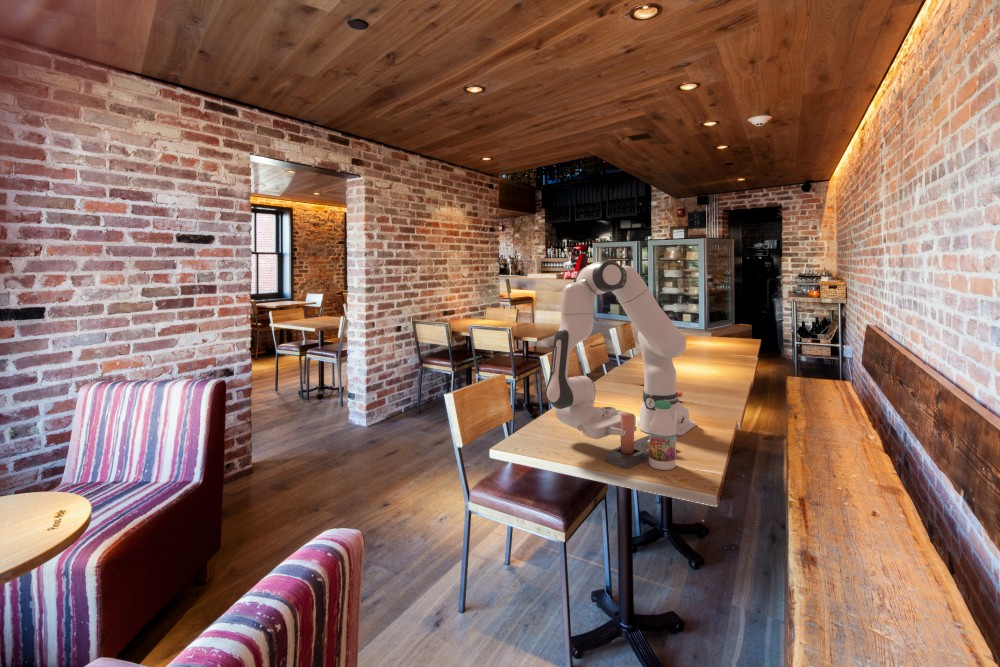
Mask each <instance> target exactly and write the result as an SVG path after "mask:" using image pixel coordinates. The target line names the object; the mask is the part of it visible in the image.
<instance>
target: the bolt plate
mask: <svg viewBox="0 0 1000 667" xmlns="http://www.w3.org/2000/svg"><path fill="white" fill-rule="evenodd" d="M650 424H651V422H650ZM647 459H648V460H649V435H645V436H644V437H642V438H638V439H634V453H633V454H624V453H621V445H620V446H618V447H616V448H613V449H611V450H608V451H606V452H604V462H605V463H608V464H610V465H613V466H616V467H619V468H622V469H624V470H628V469H630V468H633V467H635V466H637V465H639V464H641V462H642V463H643V461H644V462H646V461H648V460H647ZM645 460H646V461H645Z"/></svg>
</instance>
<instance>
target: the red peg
mask: <svg viewBox="0 0 1000 667" xmlns="http://www.w3.org/2000/svg"><path fill="white" fill-rule="evenodd" d="M634 415H635V414H634V413H631V412H628V413H622V414H621V428H622V429H625V430H626V434H625V435H623V436H620V446H621V453H624V454H633V453H634V441H635V431H634Z"/></svg>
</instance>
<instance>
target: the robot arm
mask: <svg viewBox="0 0 1000 667" xmlns="http://www.w3.org/2000/svg"><path fill="white" fill-rule="evenodd" d="M610 292H611V293H612V294H613V295H614V296H615V297H616V299H617V301H618V303H619V305H620V306H621V308H622V309H623V311H624V312H625V314H626V316H627V317H628V319H629V321H630V322H631V323H632V325H634V326H635V328H636V329H637V330H638V332H637V340H638V343H639V345H640V353H641V358H642V364H643V371H644V372H643V373H644V375H643V376H644V379H643V380H644V381H643V384H644V386H643V387H644V388H643V389H644V390H643V391H642V403H641V406H640V410H639V411H640V413H639V420H637V418H636V415H635V414H634V432H637V428H638V427H637V425H638V426H639V428H638V429H639V430H640V431H642V432H644V433H645V434H649V430H650V422H651V421H652V419H653V417H654V415H655V412H656V409H655V402H656V401H659V400H665V401H669V402H671V410H670V414H671V417H672V420H673V422H674V424H675V428H676V436H684V435H685V434H686V433H688V432H689V431H690V430H691V429H693V428H694V427H696V426H697V423H696V421H694V420H692V419H690V411H689V410H688V408H687V407H685V405H683V404H682V403H681V402H680V401H679V398H682V397H683V392H682V391H679V390H677V370H676V368H675V365H674V361H673V358H678V357H679V356H681V355H682V354H683V353H684V352H685V350H686V348H687V340H686V336H685V335H684V334H683V333H682V332H681V331H680V330H679V329H678V328H677V327H676V324H675V323H673V321H672V320H671V319H670V318H669V316H668V315H667V314H666V313H665V311H664V310H663V308H661V307H660V305H659V304H658V301H657V300H656V298H655V297H654V296H653V294H652V292H651V291H650V288H649V287H648V285H647V283H646V282H645V281H644V279H643V278H642V276H641V275H640V274H639V273H638V272H637V271H636V270H635V268H633V267H632V266H630V265H620V264H619V263H617V261H616V262H615V261H614V260H611V259H609V260H608V259H607V260H606V259H604V260H601V261H595V262H593V263H591V264H589V265H586V266H583V267H582V268H580V269H579V271H578V272H577V273H576V275H575V277H574V280H573V282H570V283H568V284H567V285H565V287H564V289H563V290H562V295H561V303H560V322H559V323H560V324H559V328H558V331H557V332H556V333H555V335H554V339H553V343H552V351H551V360H550V368H549V378H548V381H547V383H546V389H545V395H546V399H547V401H548V402H549V403H550V405H551V406H552V407H554V414H555V417H556V418H557V419H558V421H559V422H561V423H562V424H564V425H566V426H568V427H571V428H574V429H577V431H579V432H580V431H581V432H582V434H583V435H584V436H586V437H588V438H591V439H593V440H600V439H602V438H603V439H604V438H606V437H608V436H611V435H612V436H620V437H621V436H623V435H625V434H626V430H625V429H622V428H621V414H622V413H629V412H628V411H625V410H624V411H623V410H620V409H616V407H614V406H603V407H602V406H601V407H599V406H594V404H595V398H596V385H595V383H594V381H593V380H592V379H591V378H590V377H589V376H587V375H576V376H571V377H568V374H569V364H570V355H571V352H572V350H573V349H574V348H575V346H576V345H578V344H579V343H581V342H583V341H584V340H586V339H587V338H588V337H589V336H590V335H591V333H592V332H593V329H594V301H595V298H596V297H597V295H603V294H606V293H610ZM636 422H637V423H636Z"/></svg>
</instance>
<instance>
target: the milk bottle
mask: <svg viewBox="0 0 1000 667" xmlns="http://www.w3.org/2000/svg"><path fill="white" fill-rule="evenodd" d="M655 409H656V412H655V415H654V417H653V419H652V421H651V424H650V430H649V433H648V434H649V459H648V464H649V466H650V467H651V468H653V469H655V470H658V471H659V470H660V471H670V470H672V469H675V468H676V458H677V457H676V456H677V435H676V428H675V424H674V422H673V420H672V417H671V414H670V410H671V402H669V401H665V400H659V401H656V402H655Z"/></svg>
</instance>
